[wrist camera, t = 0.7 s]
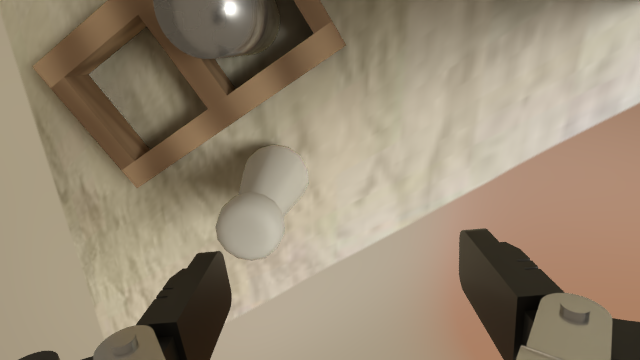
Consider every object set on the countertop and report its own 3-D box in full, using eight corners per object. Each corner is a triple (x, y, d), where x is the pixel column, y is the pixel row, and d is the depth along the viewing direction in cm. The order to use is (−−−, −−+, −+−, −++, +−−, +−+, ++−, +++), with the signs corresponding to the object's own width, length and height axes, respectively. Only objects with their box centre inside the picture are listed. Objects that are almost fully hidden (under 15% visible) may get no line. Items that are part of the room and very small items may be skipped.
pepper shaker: (252, -35, 28) (208, -76, 19) (293, 29, 30) (271, 22, 20) (198, 8, 29) (132, -10, 20) (240, 68, 31) (196, 77, 22)
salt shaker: (322, 162, 33) (312, 229, 21) (289, 207, 35) (261, 292, 23) (270, 126, 33) (228, 174, 20) (238, 173, 34) (182, 244, 22)
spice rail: (257, -105, 26) (247, -123, 24) (345, 45, 30) (346, 45, 27) (59, 64, 32) (32, 66, 29) (153, 176, 35) (137, 188, 32)
